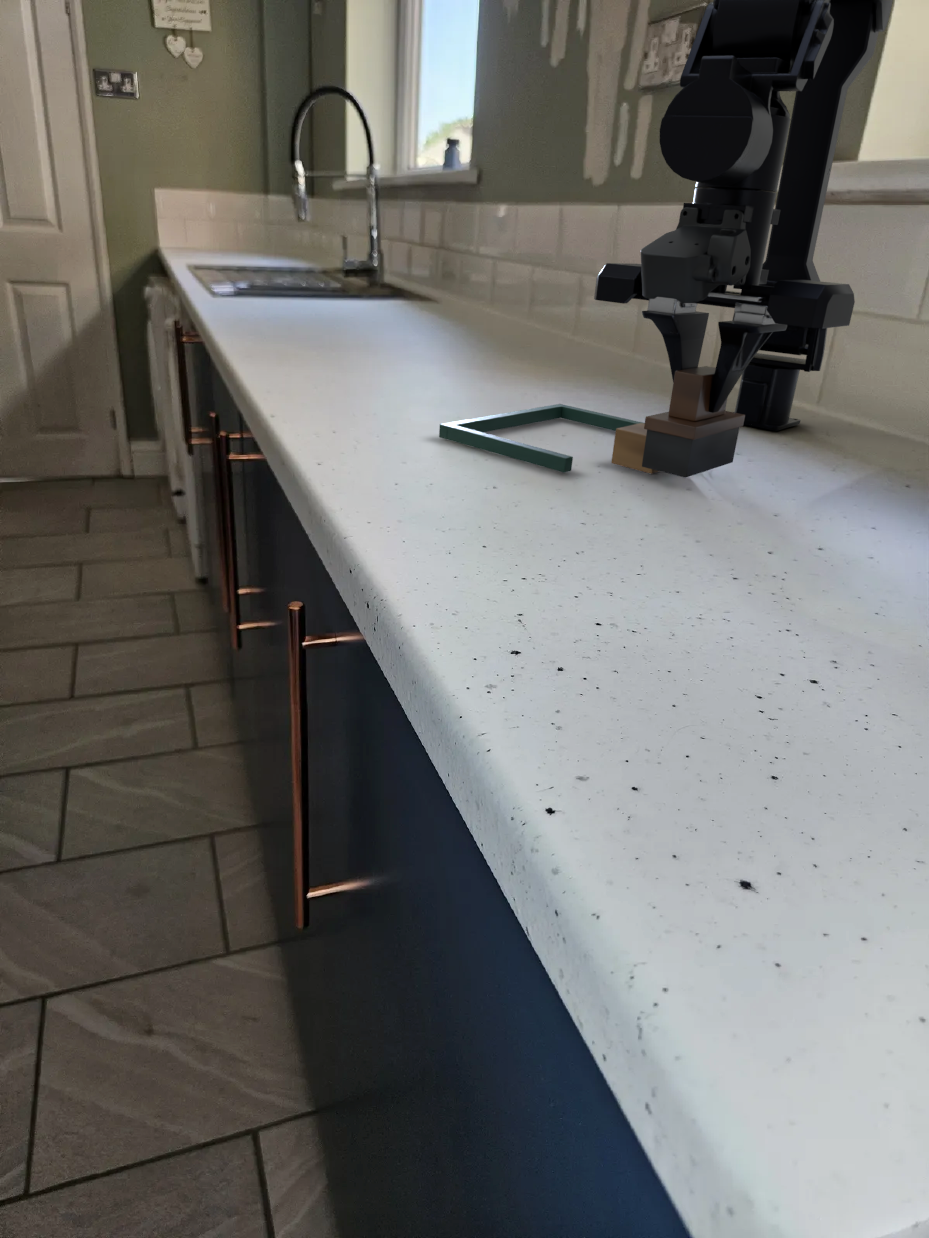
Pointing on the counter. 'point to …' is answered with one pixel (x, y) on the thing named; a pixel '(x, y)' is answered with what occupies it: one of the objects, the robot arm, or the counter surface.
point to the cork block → (630, 447)
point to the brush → (691, 428)
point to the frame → (474, 428)
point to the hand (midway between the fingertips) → (697, 408)
